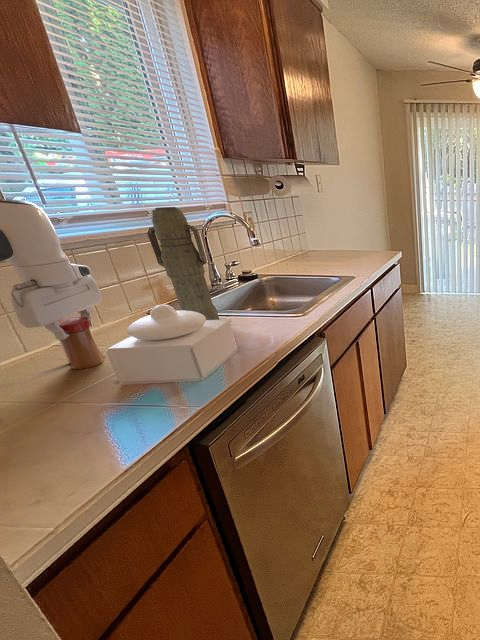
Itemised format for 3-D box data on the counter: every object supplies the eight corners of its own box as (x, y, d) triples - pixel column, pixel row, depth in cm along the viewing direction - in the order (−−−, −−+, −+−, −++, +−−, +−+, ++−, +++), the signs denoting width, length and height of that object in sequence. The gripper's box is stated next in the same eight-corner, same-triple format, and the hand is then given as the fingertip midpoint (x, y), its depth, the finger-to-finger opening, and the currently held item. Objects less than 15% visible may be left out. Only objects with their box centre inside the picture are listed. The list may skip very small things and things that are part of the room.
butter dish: (168, 353, 105) (147, 294, 98) (240, 350, 106) (223, 292, 99) (120, 385, 89) (90, 317, 82) (204, 380, 90) (181, 313, 83)
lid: (98, 325, 97) (95, 318, 97) (64, 334, 91) (61, 327, 91) (80, 322, 99) (77, 315, 98) (45, 330, 93) (42, 323, 93)
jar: (65, 366, 98) (47, 326, 93) (94, 357, 103) (78, 318, 98) (80, 370, 96) (62, 329, 91) (109, 361, 101) (93, 321, 97)
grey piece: (187, 329, 122) (146, 207, 107) (230, 325, 125) (196, 205, 110) (176, 339, 114) (130, 209, 99) (223, 335, 117) (184, 207, 102)
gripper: (25, 285, 81) (57, 347, 87) (95, 265, 100) (118, 318, 105) (-11, 287, 80) (24, 350, 86) (66, 267, 99) (91, 320, 105)
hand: (76, 332), depth 96 cm, fingers closed on lid, 6 cm apart
